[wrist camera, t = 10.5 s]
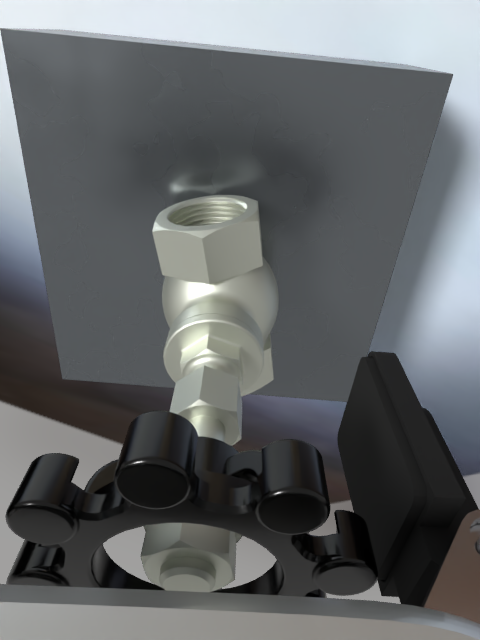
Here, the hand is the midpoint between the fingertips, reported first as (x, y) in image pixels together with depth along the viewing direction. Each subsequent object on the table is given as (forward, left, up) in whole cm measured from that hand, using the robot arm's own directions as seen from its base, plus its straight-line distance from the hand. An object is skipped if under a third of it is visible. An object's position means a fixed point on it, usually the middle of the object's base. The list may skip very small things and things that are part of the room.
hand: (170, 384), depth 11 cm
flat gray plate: (+1, 0, -13) cm, 13 cm away
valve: (+1, -1, -8) cm, 8 cm away
